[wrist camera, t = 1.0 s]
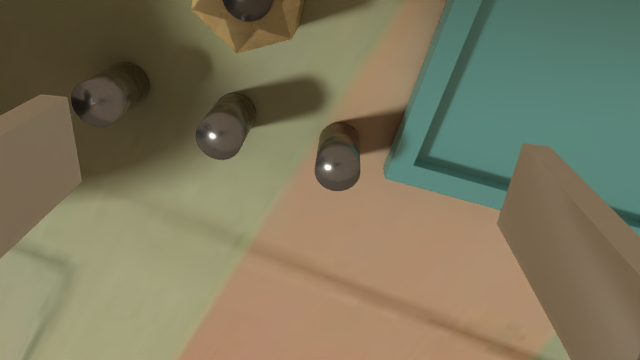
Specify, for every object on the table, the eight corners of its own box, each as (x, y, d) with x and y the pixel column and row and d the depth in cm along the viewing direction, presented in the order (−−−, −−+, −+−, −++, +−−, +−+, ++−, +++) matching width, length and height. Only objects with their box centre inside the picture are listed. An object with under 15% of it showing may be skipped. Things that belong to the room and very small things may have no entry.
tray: (383, 167, 36) (384, 178, 34) (516, -179, 25) (527, -187, 24) (644, 239, 37) (657, 253, 36) (868, -58, 27) (900, -58, 25)
